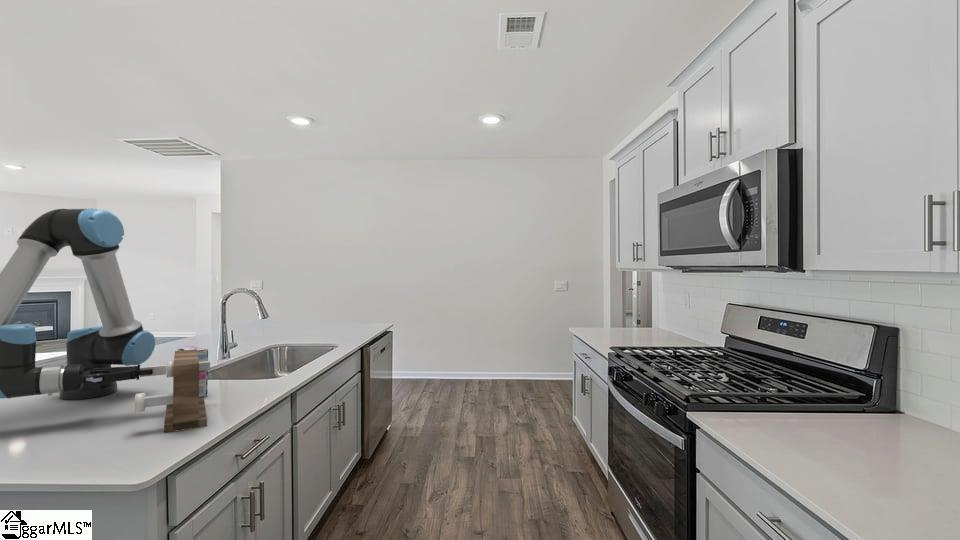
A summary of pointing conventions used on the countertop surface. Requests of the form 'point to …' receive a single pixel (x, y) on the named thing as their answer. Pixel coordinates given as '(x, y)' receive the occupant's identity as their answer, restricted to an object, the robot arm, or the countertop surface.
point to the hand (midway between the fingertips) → (166, 369)
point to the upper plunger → (202, 366)
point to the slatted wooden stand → (185, 394)
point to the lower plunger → (151, 401)
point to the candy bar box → (204, 373)
